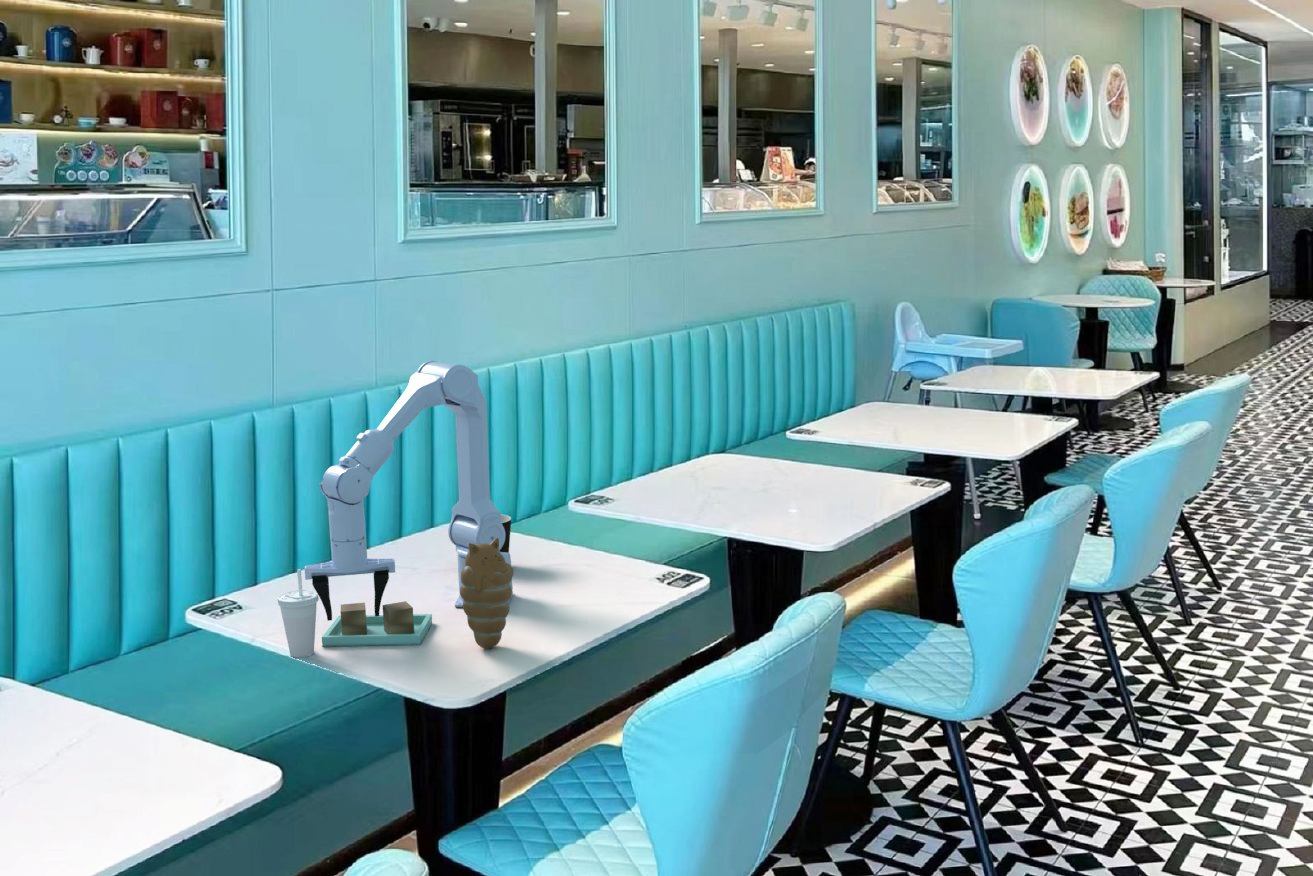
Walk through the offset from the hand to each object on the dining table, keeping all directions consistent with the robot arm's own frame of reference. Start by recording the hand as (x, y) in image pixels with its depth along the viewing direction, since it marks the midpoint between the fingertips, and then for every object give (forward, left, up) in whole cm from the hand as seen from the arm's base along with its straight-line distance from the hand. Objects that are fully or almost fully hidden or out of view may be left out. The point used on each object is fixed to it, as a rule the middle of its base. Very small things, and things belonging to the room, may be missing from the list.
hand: (353, 616), depth 219 cm
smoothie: (+7, +8, -3) cm, 11 cm away
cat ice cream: (-23, +8, -3) cm, 25 cm away
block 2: (-7, 0, -3) cm, 8 cm away
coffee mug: (-16, -38, -3) cm, 42 cm away
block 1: (0, 0, -3) cm, 3 cm away
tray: (-4, 0, -3) cm, 5 cm away
